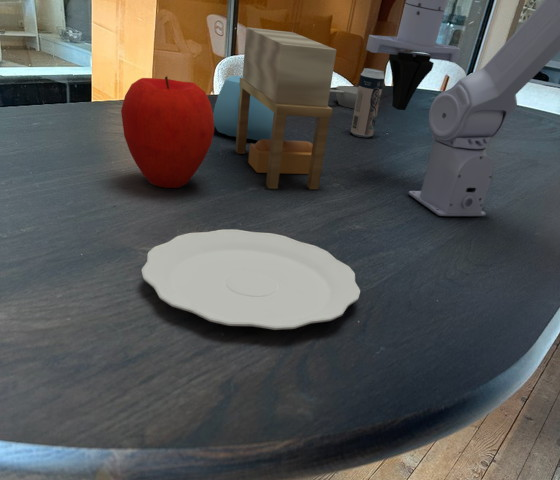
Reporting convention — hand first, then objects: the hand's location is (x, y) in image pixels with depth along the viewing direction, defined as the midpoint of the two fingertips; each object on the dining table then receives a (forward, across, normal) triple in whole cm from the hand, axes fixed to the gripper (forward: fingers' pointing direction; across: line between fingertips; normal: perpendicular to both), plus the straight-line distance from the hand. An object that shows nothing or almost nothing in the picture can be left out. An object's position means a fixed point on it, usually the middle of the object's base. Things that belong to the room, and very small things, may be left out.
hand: (398, 108), depth 91 cm
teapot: (+12, +16, -23) cm, 31 cm away
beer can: (+12, -8, -26) cm, 30 cm away
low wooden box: (+11, +17, -2) cm, 20 cm away
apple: (+11, +36, +7) cm, 39 cm away
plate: (+9, +34, +38) cm, 51 cm away
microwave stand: (+11, +18, -1) cm, 21 cm away
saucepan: (+14, -18, -55) cm, 59 cm away
